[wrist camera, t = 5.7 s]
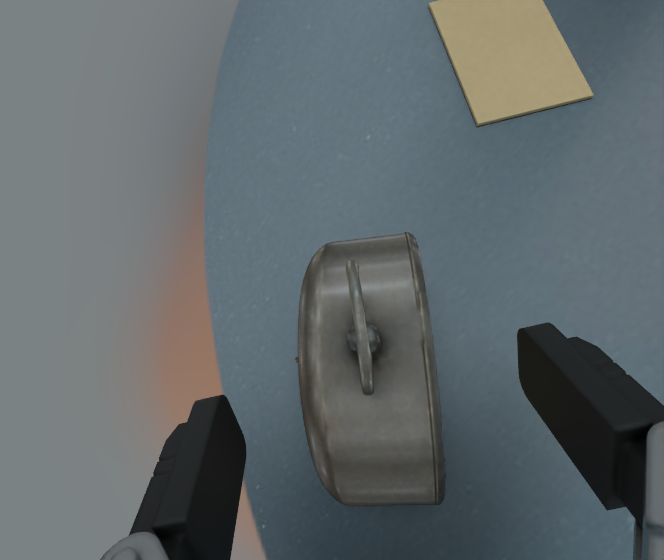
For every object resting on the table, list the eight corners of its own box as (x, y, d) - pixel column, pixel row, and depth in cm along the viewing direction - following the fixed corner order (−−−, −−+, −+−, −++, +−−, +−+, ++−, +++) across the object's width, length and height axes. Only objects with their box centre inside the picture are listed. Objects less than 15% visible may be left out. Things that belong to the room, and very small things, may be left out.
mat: (476, 126, 29) (477, 123, 28) (428, 6, 33) (428, 2, 32) (591, 98, 28) (594, 95, 28) (528, -20, 32) (529, -24, 32)
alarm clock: (431, 478, 22) (538, 612, 7) (331, 482, 23) (222, 613, 7) (410, 284, 26) (448, 86, 10) (323, 291, 26) (239, 112, 11)
